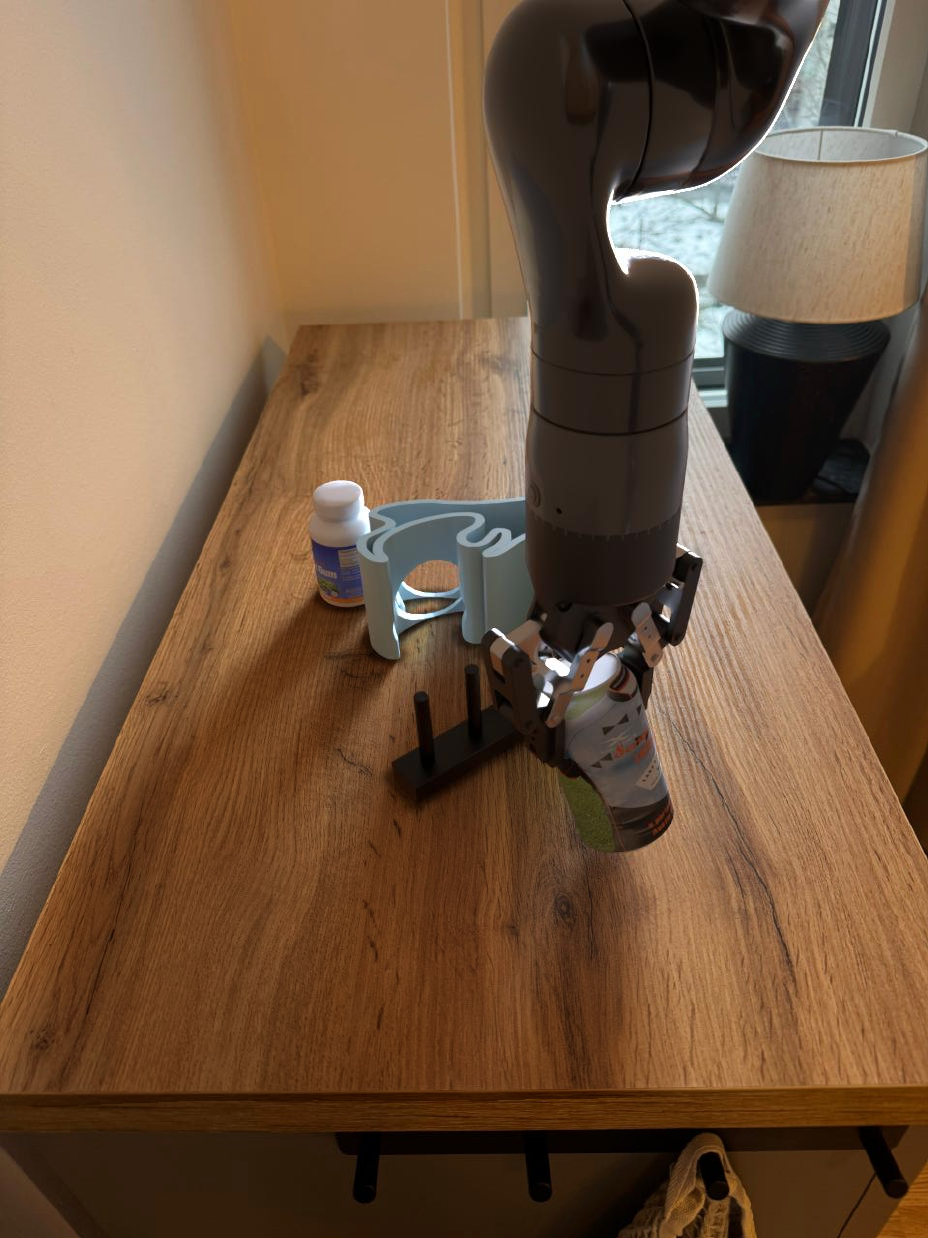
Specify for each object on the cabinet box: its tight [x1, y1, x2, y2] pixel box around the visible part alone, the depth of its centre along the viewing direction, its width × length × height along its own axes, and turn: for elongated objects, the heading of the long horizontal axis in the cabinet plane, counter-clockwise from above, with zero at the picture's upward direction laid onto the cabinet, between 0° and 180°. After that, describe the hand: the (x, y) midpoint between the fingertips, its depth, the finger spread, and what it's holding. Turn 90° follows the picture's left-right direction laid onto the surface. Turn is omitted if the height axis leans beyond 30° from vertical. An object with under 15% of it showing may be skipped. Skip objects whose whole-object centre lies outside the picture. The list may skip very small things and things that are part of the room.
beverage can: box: [542, 651, 675, 854], centre depth 55 cm, size 6×7×12 cm
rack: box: [390, 653, 563, 804], centre depth 63 cm, size 3×16×8 cm, turn 127°
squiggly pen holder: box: [356, 495, 534, 660], centre depth 71 cm, size 18×10×9 cm, turn 92°
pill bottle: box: [307, 480, 371, 608], centre depth 76 cm, size 5×5×10 cm
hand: (589, 730), depth 54 cm, fingers closed on beverage can, 6 cm apart
